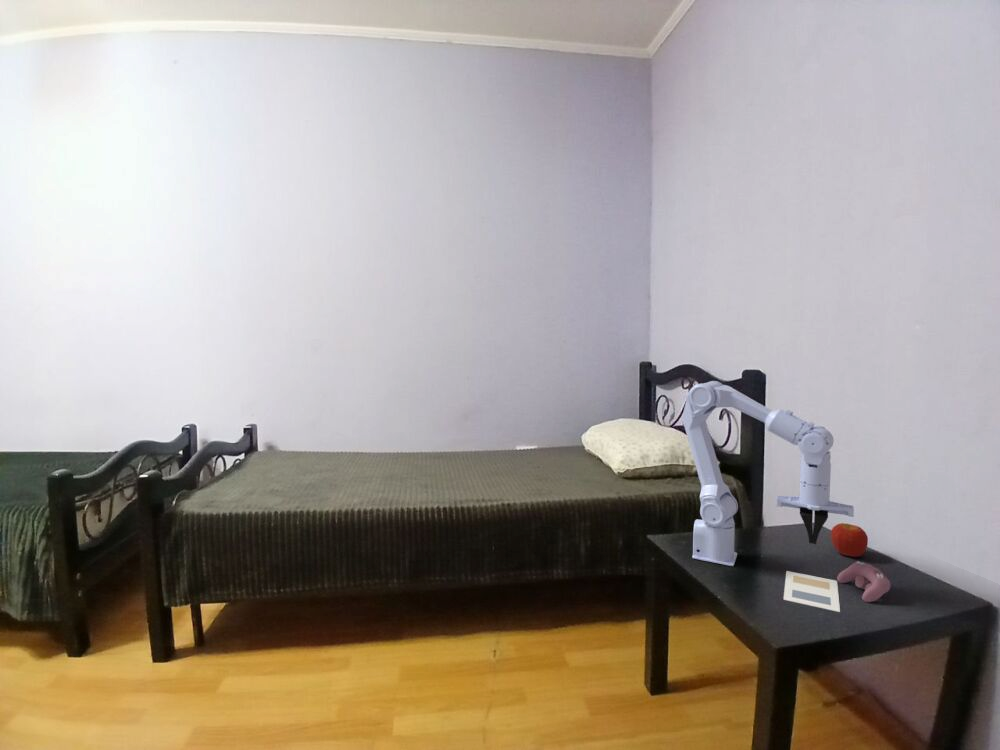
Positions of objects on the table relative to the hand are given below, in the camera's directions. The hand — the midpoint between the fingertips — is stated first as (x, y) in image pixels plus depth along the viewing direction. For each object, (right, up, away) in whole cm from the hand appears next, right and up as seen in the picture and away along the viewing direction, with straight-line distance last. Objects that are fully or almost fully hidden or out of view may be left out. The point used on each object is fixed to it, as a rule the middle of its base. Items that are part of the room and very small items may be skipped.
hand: (812, 542), depth 116 cm
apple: (+18, -8, +15) cm, 25 cm away
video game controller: (+9, -10, -3) cm, 14 cm away
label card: (-2, -10, -2) cm, 10 cm away
